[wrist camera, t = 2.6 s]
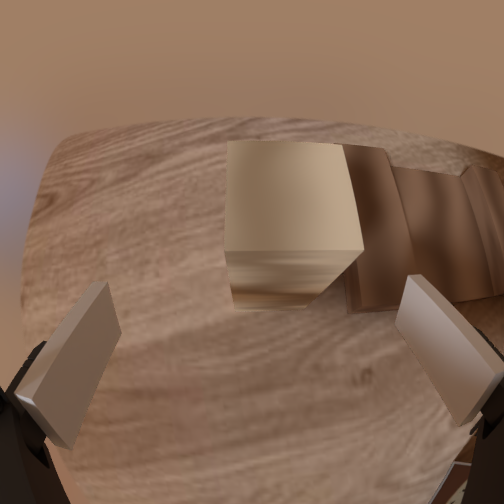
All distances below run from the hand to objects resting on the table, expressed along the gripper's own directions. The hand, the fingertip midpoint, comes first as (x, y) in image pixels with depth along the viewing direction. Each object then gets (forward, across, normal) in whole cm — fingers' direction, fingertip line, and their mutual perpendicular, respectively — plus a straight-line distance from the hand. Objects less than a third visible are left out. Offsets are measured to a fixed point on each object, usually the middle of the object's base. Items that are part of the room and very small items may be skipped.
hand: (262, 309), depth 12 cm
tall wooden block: (+10, +1, -4) cm, 10 cm away
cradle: (+12, +18, -1) cm, 22 cm away
